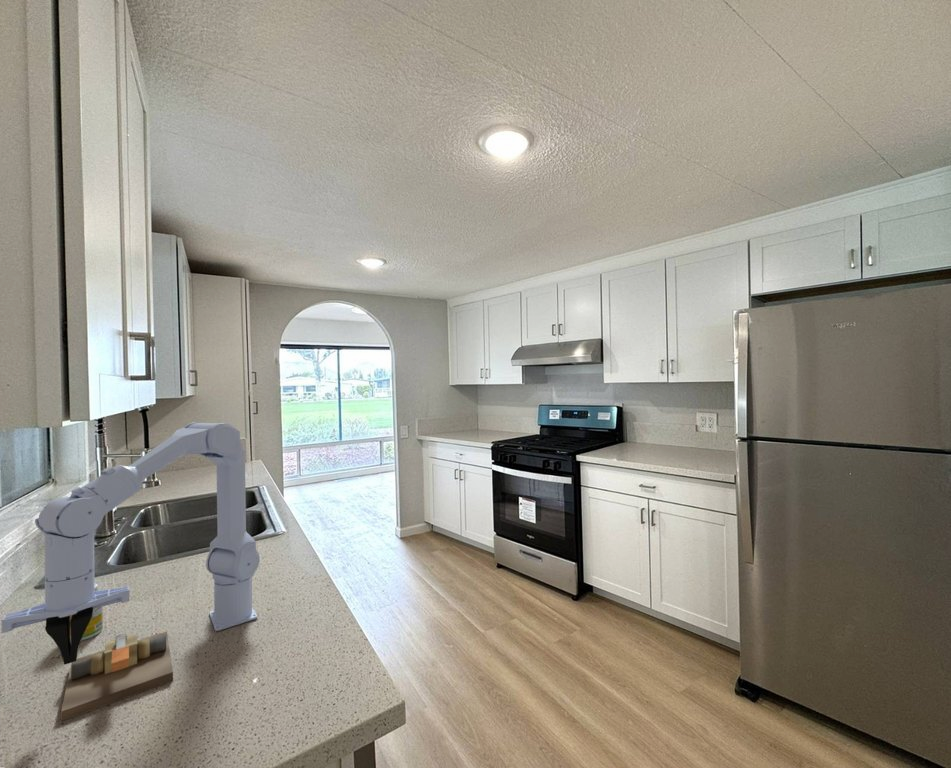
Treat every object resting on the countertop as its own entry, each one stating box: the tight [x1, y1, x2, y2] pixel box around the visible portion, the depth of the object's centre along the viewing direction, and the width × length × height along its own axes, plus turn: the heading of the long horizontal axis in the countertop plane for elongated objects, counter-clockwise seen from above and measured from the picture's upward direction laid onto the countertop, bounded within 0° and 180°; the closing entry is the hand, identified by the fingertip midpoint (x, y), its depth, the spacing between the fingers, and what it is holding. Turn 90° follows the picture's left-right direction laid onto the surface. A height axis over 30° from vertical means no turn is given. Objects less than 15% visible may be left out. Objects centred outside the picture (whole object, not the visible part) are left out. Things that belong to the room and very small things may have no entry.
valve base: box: [60, 631, 174, 722], centre depth 76 cm, size 16×14×5 cm
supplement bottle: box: [70, 583, 104, 642], centre depth 88 cm, size 5×5×10 cm
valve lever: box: [111, 633, 129, 672], centre depth 73 cm, size 10×2×1 cm, turn 39°
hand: (70, 659), depth 67 cm, fingers closed
